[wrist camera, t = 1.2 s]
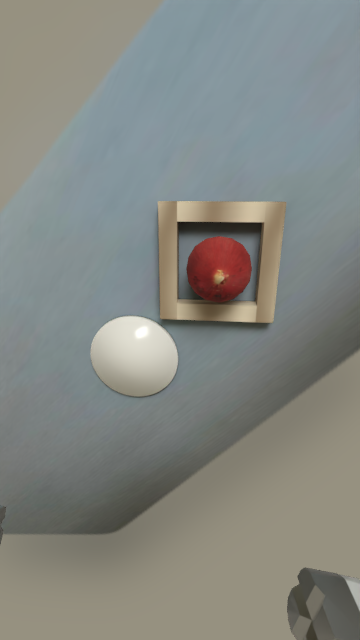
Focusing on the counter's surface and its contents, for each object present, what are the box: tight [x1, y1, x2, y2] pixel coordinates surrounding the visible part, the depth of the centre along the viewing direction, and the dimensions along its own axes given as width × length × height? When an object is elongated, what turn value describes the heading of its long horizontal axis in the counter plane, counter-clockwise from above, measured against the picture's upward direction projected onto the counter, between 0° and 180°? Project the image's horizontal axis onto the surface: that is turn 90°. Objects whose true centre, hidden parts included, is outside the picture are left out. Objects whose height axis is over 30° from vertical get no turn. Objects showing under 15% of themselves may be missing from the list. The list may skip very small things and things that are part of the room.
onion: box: [187, 236, 252, 303], centre depth 29 cm, size 6×6×8 cm
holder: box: [158, 201, 286, 323], centre depth 32 cm, size 12×12×2 cm
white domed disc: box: [91, 315, 178, 396], centre depth 38 cm, size 10×10×1 cm
